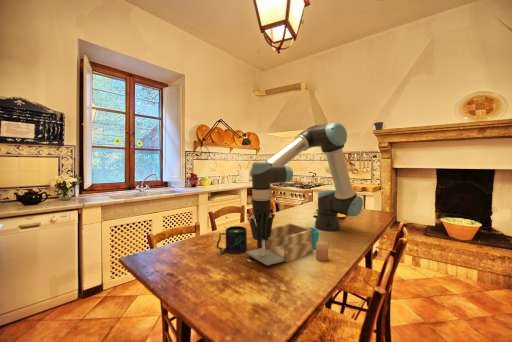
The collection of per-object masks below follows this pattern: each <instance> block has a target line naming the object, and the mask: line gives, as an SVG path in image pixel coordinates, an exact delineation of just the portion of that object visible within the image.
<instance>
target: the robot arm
mask: <svg viewBox="0 0 512 342" xmlns="http://www.w3.org/2000/svg"><path fill="white" fill-rule="evenodd" d="M347 140H348V133H347V130H346V128H345V126H344V125H343V124H342V123H340V122H329V123H323V124H317V125H312V126H310V127H308V128H306V129H304V130H302V131H301V132H300V133H299V134H297V135H296V136H295V137H294V139H293V140H292V141H291V142H290V143H288V144H286V145H285V146H284V147H283V148H281V149H280V150H279V151H277V152H276V153H274V154H273V155H272V156H270V157H269V158H267V159H266V160H265V161H254V162H253V163H252V165H251V169H250V171H249V174H250V177H251V187H252V189H251V191H252V192H251V193H252V207H251V208H252V210H253V211H252V215H251V216H250V217H247V221H248V223H249V228H250V231H251V236H252V238H253V240H256V242H257V243H256V245H257V246H256V247H257V249H259V255H261V256H265V247H266V240H268V237H270V234H271V229H272V228H273V222H274V219H275V217H276V215H275V214H274V213H272V212H271V205H272V204H271V202H272V201H271V200H270V199H271V198H272V197H271V196H272V195H271V186H272V185H273V184H285V183H289V182H291V181H292V179H293V177H294V171H293V169H292V168H291V167H290V166H289V165H287V164H288V163H289V162H291V160H294V158H296V157H297V156H298V155H300V153H302V152H306V151H308V150H309V149H311V148H315V147H316V148H320V150H321V152H322V153H323V154H325V155H326V159H327V163H328V167H329V170H330V174H331V177H332V181H333V182H332V183H333V185H334V186H333V187H334V188H335V189H334V190H332V189H331V190H322V191H321V190H320V191H319V192H318V193H317V216H316V219H315V221H314V228H315V229H317V230H320V231H325V232H336V231H337V232H338V231H339V230H341V223H340V220H339V216H338V214H340V215H344V216H347V217H357V216H359V215H360V213H361V212H362V210H363V206H364V199H363V198H362V197H363V196H360V195H357V194H358V193H357V191H356V190H355V189H354V188H353V186H352V183H351V179H350V175H349V171H348V167H347V163H346V159H345V155H344V151H343V149H344V148H345V144H346V143H347Z"/></svg>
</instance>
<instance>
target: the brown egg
mask: <svg viewBox="0 0 512 342" xmlns="http://www.w3.org/2000/svg"><path fill="white" fill-rule="evenodd" d="M315 260H316V261H318V262H321V263H322V262H323V263H325V262H328V261H329V242H327V241H324V240H318V241H317V242H316V249H315Z"/></svg>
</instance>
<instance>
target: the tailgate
mask: <svg viewBox="0 0 512 342" xmlns="http://www.w3.org/2000/svg"><path fill="white" fill-rule="evenodd" d="M246 255H248V256H250V257H251V258H253V259H254V260H256V261H258V262H260V263H262V264H264V265H266V266H271V265H273V264H278V263H282V262H284V261H285V258H283V257H281V256H279V255H277V254H275V253H273V252H270V251H268V250H266V249H265V256H261V255H259V248H257V249H253V250H248V251H247V250H246Z"/></svg>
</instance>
